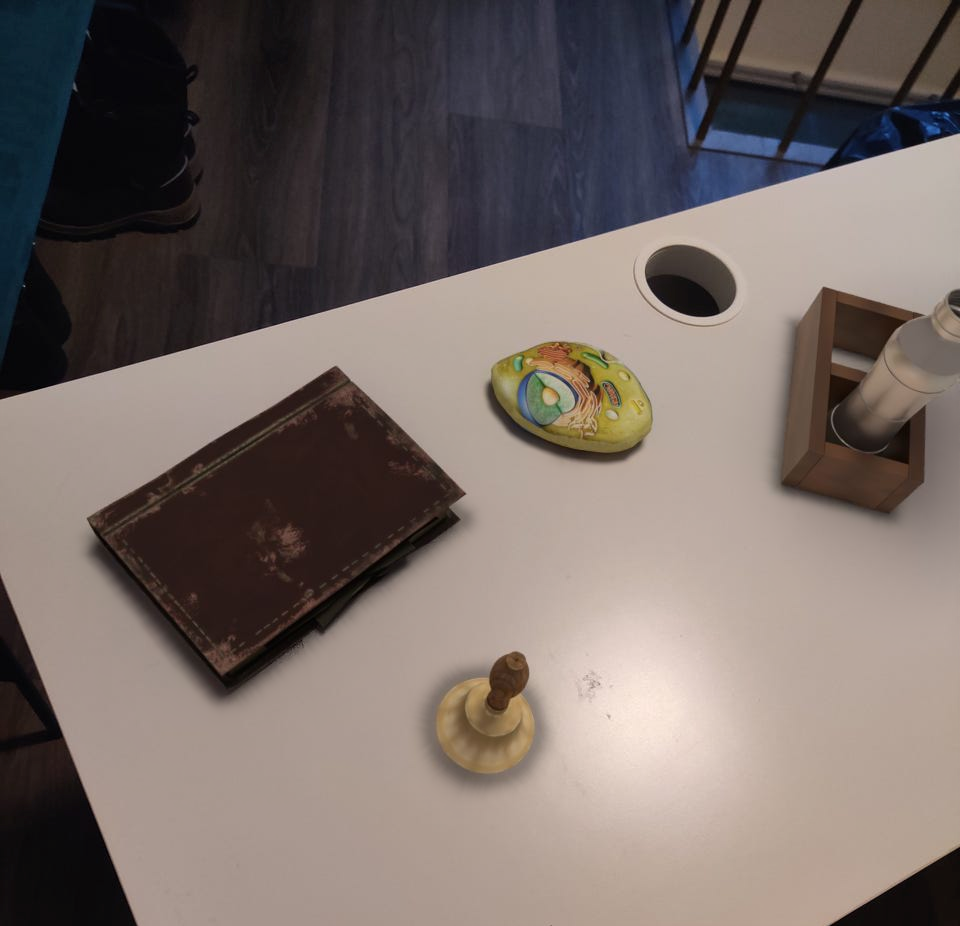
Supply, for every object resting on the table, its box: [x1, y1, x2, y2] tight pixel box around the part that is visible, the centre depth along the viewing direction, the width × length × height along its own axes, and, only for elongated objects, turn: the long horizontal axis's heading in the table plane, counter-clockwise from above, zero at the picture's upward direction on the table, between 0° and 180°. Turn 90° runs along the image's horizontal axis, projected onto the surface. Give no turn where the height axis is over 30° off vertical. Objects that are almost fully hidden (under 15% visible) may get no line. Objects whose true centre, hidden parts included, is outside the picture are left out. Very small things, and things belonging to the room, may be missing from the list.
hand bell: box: [435, 650, 535, 774], centre depth 61 cm, size 8×8×16 cm
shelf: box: [780, 286, 927, 514], centre depth 83 cm, size 11×20×6 cm, turn 167°
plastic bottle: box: [825, 288, 960, 457], centre depth 75 cm, size 6×7×20 cm
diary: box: [86, 365, 467, 691], centre depth 71 cm, size 19×25×5 cm
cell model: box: [490, 340, 654, 454], centre depth 79 cm, size 11×8×15 cm
